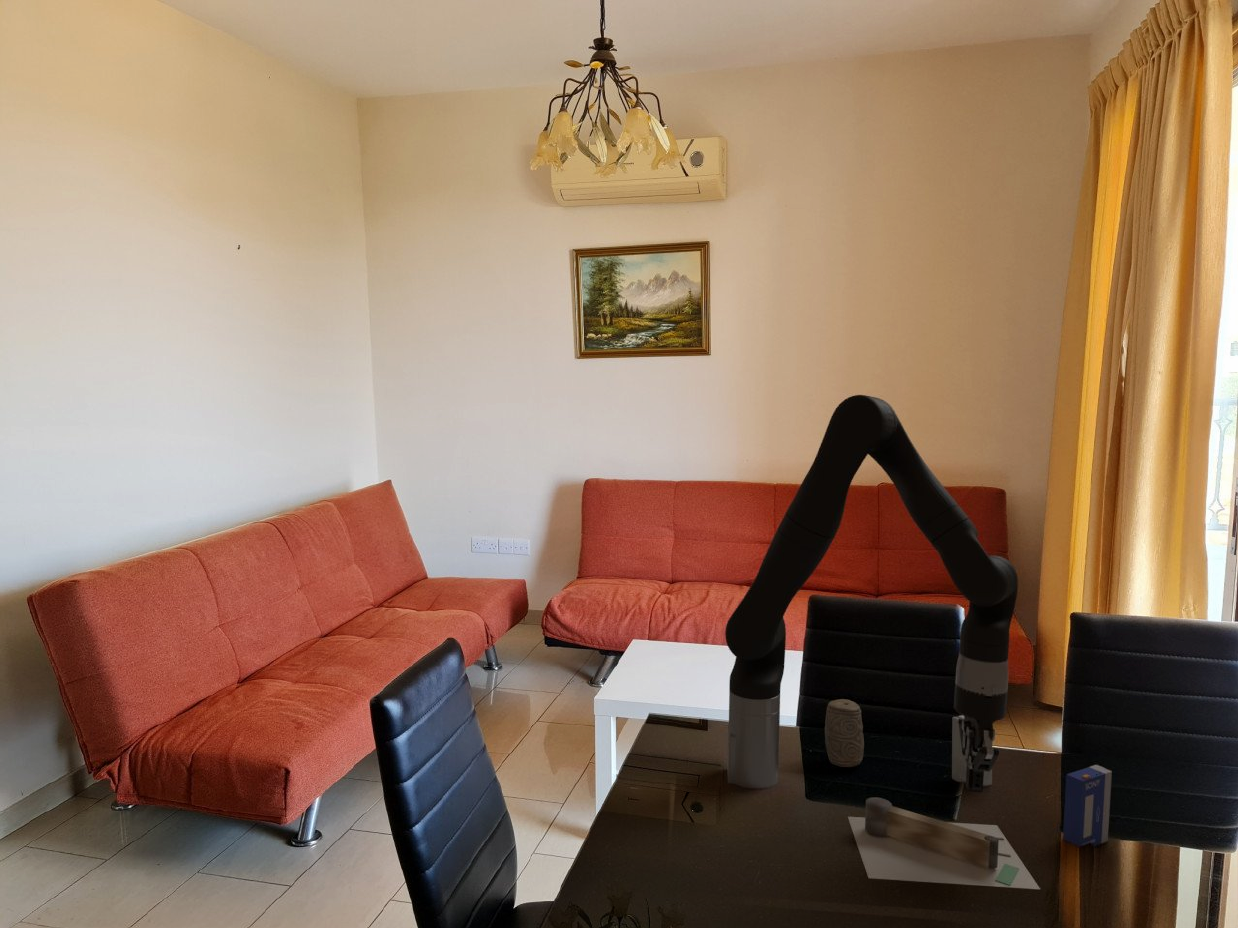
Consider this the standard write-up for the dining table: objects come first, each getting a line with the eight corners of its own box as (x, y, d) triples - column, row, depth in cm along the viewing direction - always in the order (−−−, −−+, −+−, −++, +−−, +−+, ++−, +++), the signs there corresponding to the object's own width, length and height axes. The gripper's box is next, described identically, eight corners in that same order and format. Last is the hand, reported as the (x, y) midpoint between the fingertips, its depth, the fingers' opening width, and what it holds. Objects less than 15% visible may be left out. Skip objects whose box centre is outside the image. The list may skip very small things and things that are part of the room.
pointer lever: (861, 831, 135) (862, 804, 134) (870, 821, 138) (871, 794, 137) (993, 874, 123) (995, 844, 122) (1000, 862, 126) (1001, 833, 126)
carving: (830, 753, 167) (832, 694, 166) (868, 762, 163) (870, 703, 162) (818, 764, 162) (820, 703, 161) (856, 774, 158) (858, 712, 157)
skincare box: (992, 789, 152) (995, 724, 151) (973, 793, 151) (976, 728, 150) (968, 775, 158) (970, 712, 157) (949, 778, 156) (951, 715, 155)
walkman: (1078, 852, 131) (1083, 779, 130) (1062, 844, 134) (1066, 771, 133) (1109, 840, 135) (1113, 768, 134) (1092, 832, 137) (1096, 762, 136)
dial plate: (868, 884, 122) (868, 876, 122) (847, 822, 140) (847, 815, 140) (1040, 895, 120) (1040, 887, 120) (996, 830, 138) (997, 824, 138)
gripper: (944, 668, 138) (938, 769, 140) (969, 697, 125) (961, 808, 126) (992, 671, 137) (985, 772, 139) (1021, 700, 124) (1013, 812, 126)
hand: (973, 789), depth 133 cm, fingers closed
